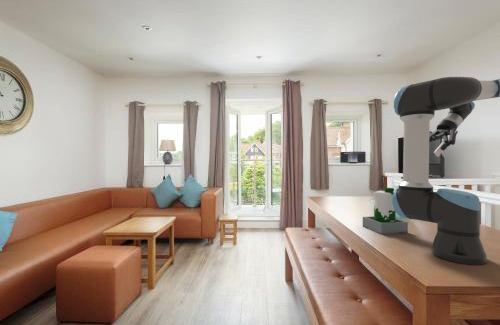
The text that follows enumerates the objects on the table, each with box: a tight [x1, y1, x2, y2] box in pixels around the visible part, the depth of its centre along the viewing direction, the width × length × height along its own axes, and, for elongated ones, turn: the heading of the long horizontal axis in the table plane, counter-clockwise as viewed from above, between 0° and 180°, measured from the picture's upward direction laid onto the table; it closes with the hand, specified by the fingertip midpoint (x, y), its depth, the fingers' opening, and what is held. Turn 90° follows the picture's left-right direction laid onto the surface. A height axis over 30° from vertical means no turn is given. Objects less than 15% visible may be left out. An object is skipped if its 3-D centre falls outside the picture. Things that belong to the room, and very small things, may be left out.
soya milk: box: [373, 187, 397, 223], centre depth 125 cm, size 9×9×20 cm
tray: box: [362, 215, 409, 235], centre depth 125 cm, size 14×14×5 cm
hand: (423, 154), depth 123 cm, fingers open, 13 cm apart
